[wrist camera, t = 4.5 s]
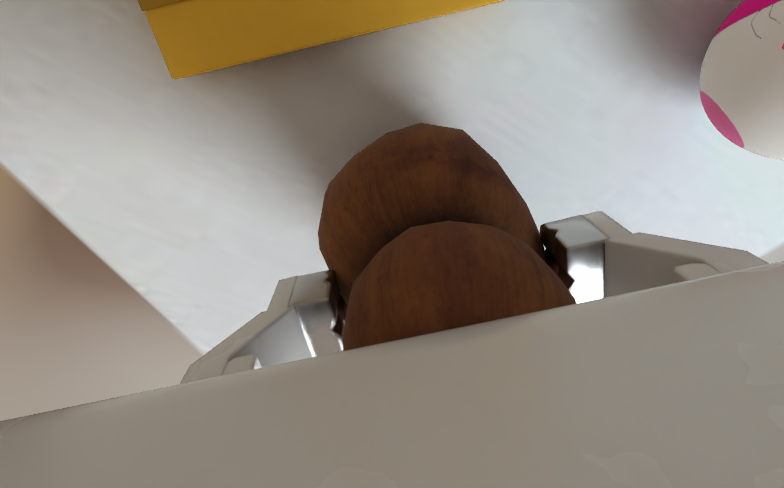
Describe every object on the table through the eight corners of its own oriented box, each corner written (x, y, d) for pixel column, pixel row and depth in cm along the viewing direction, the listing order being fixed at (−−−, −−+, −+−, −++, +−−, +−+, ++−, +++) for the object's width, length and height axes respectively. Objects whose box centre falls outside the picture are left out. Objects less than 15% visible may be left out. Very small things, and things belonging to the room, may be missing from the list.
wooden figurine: (521, 222, 18) (997, 795, 4) (403, 292, 19) (483, 917, 5) (435, 76, 15) (924, 334, 2) (305, 167, 17) (1, 744, 3)
